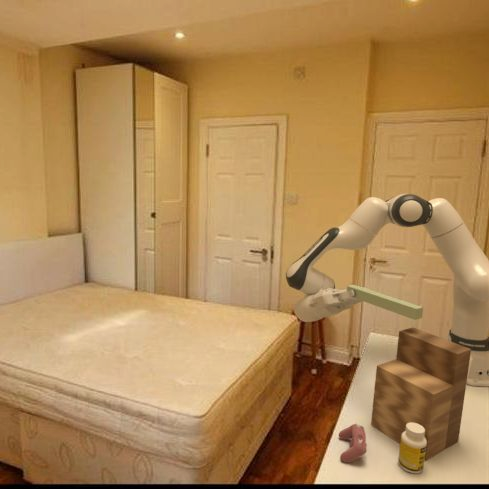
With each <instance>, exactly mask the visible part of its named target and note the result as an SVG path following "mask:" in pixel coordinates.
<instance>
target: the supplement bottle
mask: <svg viewBox="0 0 489 489" xmlns="http://www.w3.org/2000/svg"><path fill="white" fill-rule="evenodd" d="M424 435H425V429H424V427H423V426H421V425H420V424H417V423H413V422H410V423H407V424H406V430H405V431H404V432H403V433H402V436H401V443H400V444H399V453H398V460H397V462H398V465H399V466H400V468H401V469H402V470H404V471H406V472H407V473H411V474H420V473H421V472H423V470H424V466H425V453H426V445H427V441H426V438H425V437H424Z"/></svg>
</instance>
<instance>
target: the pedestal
mask: <svg viewBox="0 0 489 489" xmlns="http://www.w3.org/2000/svg"><path fill="white" fill-rule="evenodd" d="M397 339H398V340H397V347H396V348H397V349H396V350H397V351H396V356H395V357H396V358H395V359H392V360H390V361H387V362H384V363H380V364H378V365H376V369H375V370H376V371H375V378H374V379H375V381H374V390H373V391H374V392H373V402H372V410H371V411H372V412H371V422H370V425H371V426H372V427H374V428H375V429H377V430H378V431H379V432H381V433H383V434H384V435H386V436H387V437H389V438H390V439H392V440H393V441H395V442H396V443H398V444H399V445H400V443H401V436H402V433H403V432H404V431H405V430H406V424H407V423H410V422H413V423H417V424H420V425H421V426H423V427H424V429H425V435H424V437H425V438H426V441H427V445H426V453H425V460H424V462H425V461H428V460H430V459H431V458H432V457H435V456H437V455H438V454H439V453H442V452H443V451H444V450H446V449H449V447H451V446H453V445H455V444H456V443H458V442H459V439H460V432H461V424H462V418H463V409H464V404H465V394H466V390H467V389H466V388H467V383H466V382H467V375H468V368H469V361H470V354H471V349H469V348H467V347H464V346H461V345H459V344H456V343H453V342H451V341H448V339H445V338H443V337H439V336H437V335H434V334H432V333H429V332H426V331H424V330H420V329H418V328H415V327H409V328H406V329H405V328H404V329H403V330H399V331H398V338H397Z"/></svg>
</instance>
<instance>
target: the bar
mask: <svg viewBox="0 0 489 489" xmlns="http://www.w3.org/2000/svg"><path fill="white" fill-rule="evenodd" d="M346 289H347V292H348V291H351V290H355V291H356V294H357V295H356V296H353V298H356V299H358V300H361V302H364V303H367V304H369V305H373V306H375V307H378V308H382V309H383V310H386V311H389V312H392V313H394V314H398V315H400V316H403V317H406V318H409V319H411V320H414V321H416V320H420V319H423V311H424V306H420V305H417V304H415V303H411V302H409V301H406V300H402V299H400V298H399V299H398V298H395V297H393V296H390V295H386V294H383V293H381V292H378V291H374V290H372V289H369V288H368V289H365V288H362V286H359V285H356V284H351V285H346Z"/></svg>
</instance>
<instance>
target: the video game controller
mask: <svg viewBox="0 0 489 489" xmlns="http://www.w3.org/2000/svg"><path fill="white" fill-rule="evenodd" d="M366 435H367V434H366V431H365V428H364V426H362V425H360V424H357V423H354V424H353V423H352V424H351V425H349V426H348V427H347V428H346V427H345V428H344V429H342V430H340V431H339V433H338V438H339V439H340V440H343V441H344V440H345V441H346V440H350V439H351V440H350V442H349V446H350V448H349V449H346V450H345V451H344V452H342V453H341V454H340V461H341V462H343V463H350V462H354V461H355V460H358V459H359V458H362V457H363V455H365V454H366V453H367V448H368V447H367V443H366V442H367V441H366V440H367V437H366Z"/></svg>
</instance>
